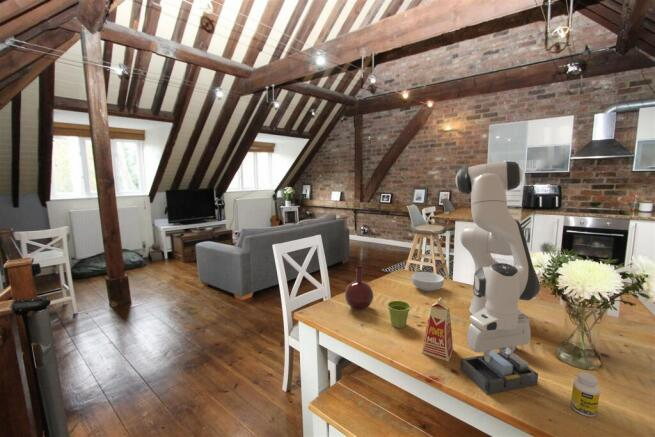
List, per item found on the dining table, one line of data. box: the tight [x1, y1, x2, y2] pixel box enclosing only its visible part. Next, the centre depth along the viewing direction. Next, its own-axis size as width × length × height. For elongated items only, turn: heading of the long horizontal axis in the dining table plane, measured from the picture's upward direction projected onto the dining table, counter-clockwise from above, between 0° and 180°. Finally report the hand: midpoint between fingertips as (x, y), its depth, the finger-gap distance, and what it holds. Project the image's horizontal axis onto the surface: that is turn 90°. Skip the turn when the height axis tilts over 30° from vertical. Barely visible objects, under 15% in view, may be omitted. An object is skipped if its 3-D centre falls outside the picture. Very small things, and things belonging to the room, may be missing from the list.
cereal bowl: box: [411, 271, 445, 292], centre depth 168 cm, size 17×17×7 cm
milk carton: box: [421, 296, 454, 362], centre depth 109 cm, size 9×9×20 cm
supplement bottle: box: [570, 371, 601, 418], centre depth 82 cm, size 5×5×10 cm
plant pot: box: [387, 300, 412, 329], centre depth 129 cm, size 9×9×9 cm
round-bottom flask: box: [344, 266, 374, 311], centre depth 144 cm, size 13×13×20 cm
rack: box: [459, 349, 539, 395], centre depth 96 cm, size 12×18×6 cm
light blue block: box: [484, 350, 513, 377], centre depth 96 cm, size 3×8×5 cm, turn 13°
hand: (497, 359), depth 95 cm, fingers open, 5 cm apart
